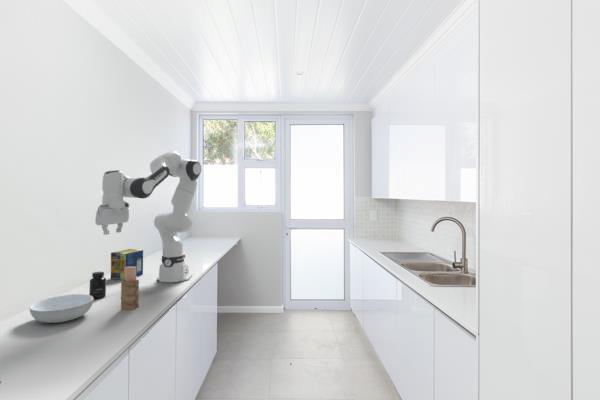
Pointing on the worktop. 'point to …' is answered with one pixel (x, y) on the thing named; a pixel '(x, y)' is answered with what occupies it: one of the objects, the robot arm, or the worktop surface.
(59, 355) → the worktop surface
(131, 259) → the protein box
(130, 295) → the block middle
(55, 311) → the serving bowl
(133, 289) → the block top
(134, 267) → the cylinder
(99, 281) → the supplement bottle
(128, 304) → the block bottom
